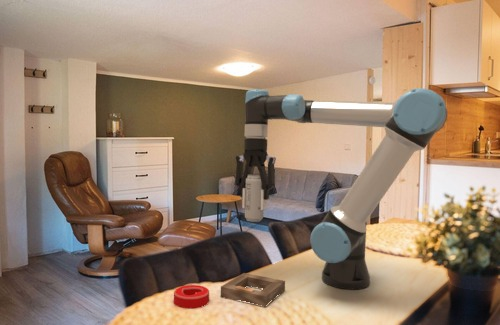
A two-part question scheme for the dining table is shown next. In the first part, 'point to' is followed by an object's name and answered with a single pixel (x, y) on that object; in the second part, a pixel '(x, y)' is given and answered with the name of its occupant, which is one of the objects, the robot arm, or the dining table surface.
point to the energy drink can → (253, 198)
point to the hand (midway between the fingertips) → (254, 208)
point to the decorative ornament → (191, 296)
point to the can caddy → (263, 297)
